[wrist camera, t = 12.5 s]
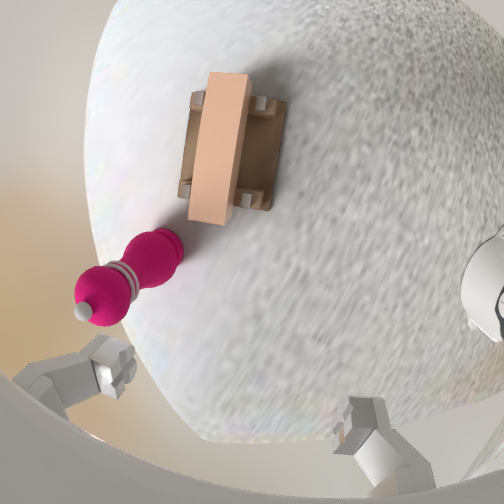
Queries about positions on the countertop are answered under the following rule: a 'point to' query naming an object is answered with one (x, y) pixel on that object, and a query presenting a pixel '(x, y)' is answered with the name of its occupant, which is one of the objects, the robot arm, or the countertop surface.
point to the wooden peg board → (243, 151)
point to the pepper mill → (127, 277)
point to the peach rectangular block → (219, 147)
